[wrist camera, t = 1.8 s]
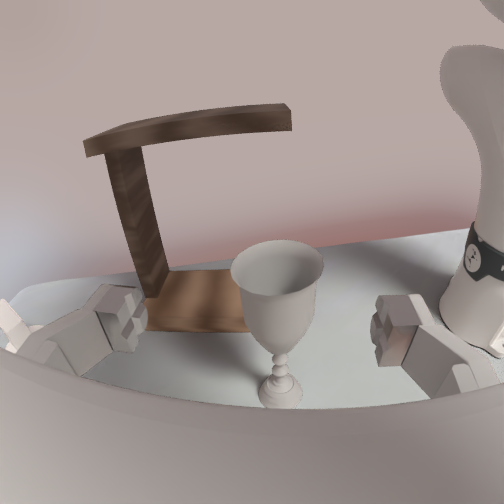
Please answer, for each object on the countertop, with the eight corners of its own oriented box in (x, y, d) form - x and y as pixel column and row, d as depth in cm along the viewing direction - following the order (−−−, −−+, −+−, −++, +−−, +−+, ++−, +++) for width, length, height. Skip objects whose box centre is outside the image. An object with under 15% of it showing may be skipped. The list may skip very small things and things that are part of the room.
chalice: (270, 361, 36) (262, 233, 26) (320, 380, 32) (337, 250, 23) (238, 404, 31) (210, 278, 21) (292, 429, 27) (298, 308, 18)
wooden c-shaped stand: (290, 281, 49) (284, 103, 34) (294, 330, 40) (290, 110, 25) (163, 285, 51) (124, 123, 36) (143, 330, 42) (82, 140, 27)
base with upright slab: (17, 377, 32) (-25, 321, 26) (51, 344, 39) (17, 286, 32) (41, 407, 28) (-10, 349, 22) (79, 368, 35) (39, 305, 29)
